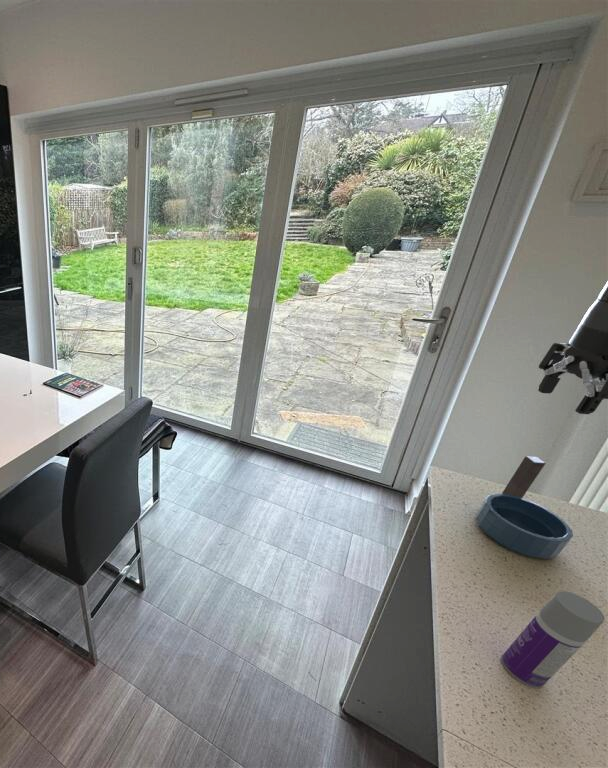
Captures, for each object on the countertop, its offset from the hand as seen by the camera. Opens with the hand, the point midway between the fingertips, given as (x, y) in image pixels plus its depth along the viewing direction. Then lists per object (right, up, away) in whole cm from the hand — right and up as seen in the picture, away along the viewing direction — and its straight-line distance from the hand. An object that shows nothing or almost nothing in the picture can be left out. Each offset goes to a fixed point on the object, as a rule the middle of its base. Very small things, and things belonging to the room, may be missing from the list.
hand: (562, 402), depth 83 cm
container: (-32, -39, -23) cm, 55 cm away
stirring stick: (-3, -24, +8) cm, 25 cm away
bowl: (-9, -27, +1) cm, 29 cm away
